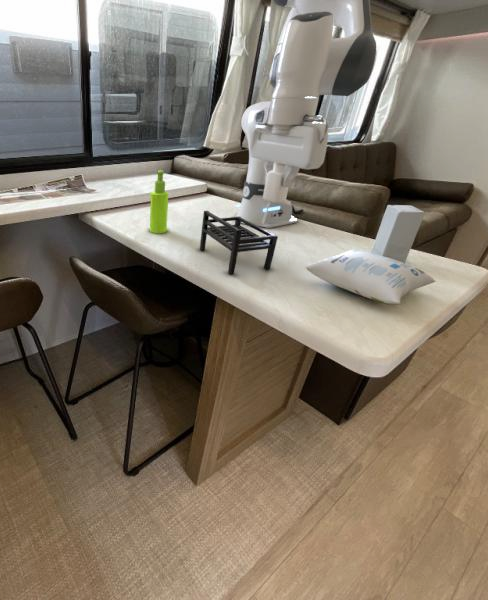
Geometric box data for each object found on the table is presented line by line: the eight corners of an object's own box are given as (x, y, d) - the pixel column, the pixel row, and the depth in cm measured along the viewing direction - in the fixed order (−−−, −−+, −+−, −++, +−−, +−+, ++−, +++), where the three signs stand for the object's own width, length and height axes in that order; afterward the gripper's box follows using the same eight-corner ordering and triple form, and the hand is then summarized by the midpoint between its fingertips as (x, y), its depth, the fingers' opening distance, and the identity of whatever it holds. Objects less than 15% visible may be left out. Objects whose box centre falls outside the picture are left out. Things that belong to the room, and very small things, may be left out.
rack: (234, 245, 101) (240, 207, 95) (270, 269, 87) (280, 226, 80) (199, 249, 99) (203, 210, 93) (229, 275, 84) (237, 230, 78)
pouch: (446, 264, 70) (351, 235, 84) (407, 290, 61) (308, 253, 76) (428, 295, 74) (341, 262, 88) (388, 323, 66) (299, 282, 80)
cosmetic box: (402, 268, 86) (428, 213, 79) (376, 265, 88) (399, 211, 80) (391, 256, 93) (414, 204, 85) (367, 254, 95) (387, 203, 87)
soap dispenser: (166, 227, 118) (169, 168, 107) (166, 233, 112) (169, 172, 102) (150, 226, 118) (151, 168, 108) (149, 233, 112) (151, 172, 102)
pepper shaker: (286, 200, 75) (296, 156, 70) (275, 203, 73) (285, 158, 68) (272, 196, 78) (280, 154, 73) (261, 199, 76) (269, 156, 71)
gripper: (344, 115, 59) (323, 192, 66) (273, 112, 76) (262, 175, 83) (315, 116, 57) (296, 195, 65) (249, 114, 74) (240, 177, 82)
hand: (277, 184), depth 74 cm, fingers closed on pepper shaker, 4 cm apart
